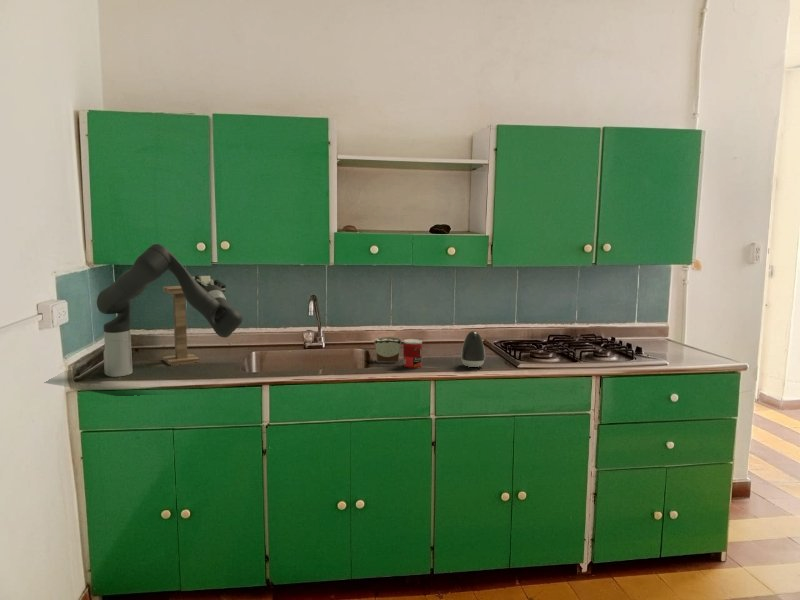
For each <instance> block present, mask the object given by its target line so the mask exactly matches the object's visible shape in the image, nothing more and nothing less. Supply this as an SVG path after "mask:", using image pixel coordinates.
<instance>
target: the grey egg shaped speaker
mask: <svg viewBox="0 0 800 600" xmlns="http://www.w3.org/2000/svg"><path fill="white" fill-rule="evenodd" d="M460 358H461V362H462V365H463V366H465V367H466V366H468V367H467V368H469V367H478V368H480V367H481V366H483V364H484V362H485V360H486V351H485V346H484V342H483V340H482V336H481V335H480V334H479V332H477V331H474V330H473V331H470V332H468V333H467V334H466V336H465V338H464V341H463V344H462V347H461V353H460ZM479 366H480V367H479Z"/></svg>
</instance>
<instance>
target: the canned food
mask: <svg viewBox="0 0 800 600" xmlns="http://www.w3.org/2000/svg"><path fill="white" fill-rule="evenodd" d="M402 347H403V350H402V351H403V354H402V357H403V358H402V359H403V360H402V364H403V367H404V368H406V367H409V368H408V369H419V368H418V367H420V368H422V365H423V340H421V339H416V338H409V339H408V338H407V339H404V340H403V343H402Z"/></svg>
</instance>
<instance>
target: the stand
mask: <svg viewBox="0 0 800 600" xmlns="http://www.w3.org/2000/svg"><path fill="white" fill-rule="evenodd" d="M162 288H163V289H162V292H163V293H166V294H169V295H171V294H172V305H173V306H172V307H173V308H172V309H173V311H172V313H173V335H174V355H167V356H163V361H164V362H165V363H166V364H168V365H169V366H170V365H171V366H170V367H172V365H173V366H180V365H179V364H181V365H188V363H189V364H196V363H195V362H197V363H201V359H200V358H199V357H198V356H196V355H194V354H193V353H188V335H187V311H186V308H187V307H186V298H185V296H184V293H183V291H182V288H181V286H180V285H173V286H172V285H171V286H163V287H162Z"/></svg>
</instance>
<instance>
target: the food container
mask: <svg viewBox="0 0 800 600" xmlns="http://www.w3.org/2000/svg"><path fill="white" fill-rule="evenodd" d="M373 344H374V346H375V356H376V362H377V363H399V361H400V352H401V345H403V342H402V339H401V338H400V337H393V336H382V337H377V338H375V339H374V341H373Z"/></svg>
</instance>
